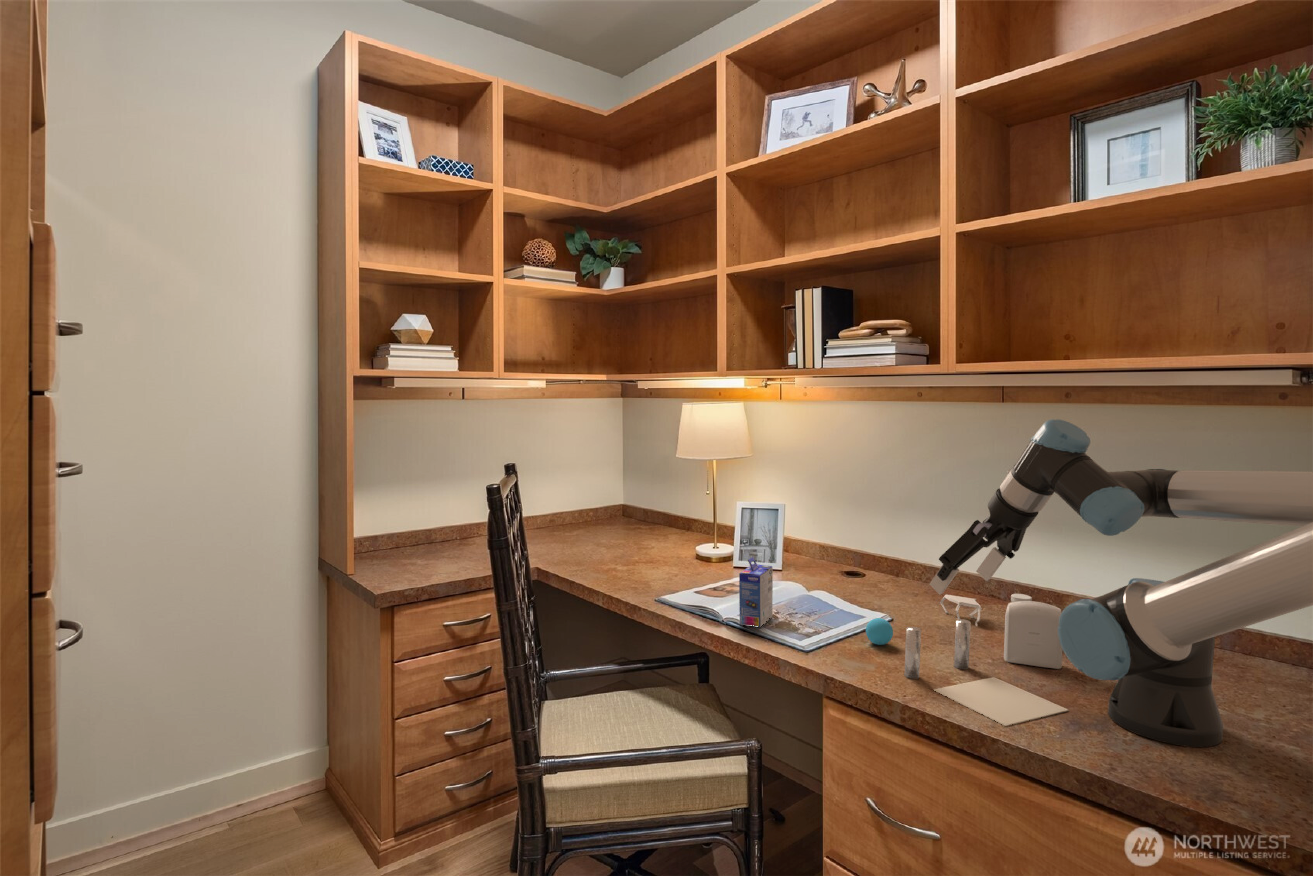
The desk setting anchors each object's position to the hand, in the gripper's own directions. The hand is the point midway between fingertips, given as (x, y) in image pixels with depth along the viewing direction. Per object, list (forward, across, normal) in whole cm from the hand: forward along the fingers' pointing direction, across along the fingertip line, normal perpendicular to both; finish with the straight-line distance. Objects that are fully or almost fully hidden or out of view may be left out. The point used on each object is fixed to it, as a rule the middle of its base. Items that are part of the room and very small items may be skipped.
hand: (959, 582), depth 137 cm
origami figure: (+28, -29, -6) cm, 40 cm away
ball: (+22, +3, -6) cm, 23 cm away
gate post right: (+15, -2, +9) cm, 17 cm away
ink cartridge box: (+37, +16, -26) cm, 48 cm away
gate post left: (+15, +11, +7) cm, 20 cm away
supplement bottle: (+19, -27, +6) cm, 33 cm away
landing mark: (+7, +6, +20) cm, 22 cm away
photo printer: (+13, -16, +14) cm, 25 cm away
